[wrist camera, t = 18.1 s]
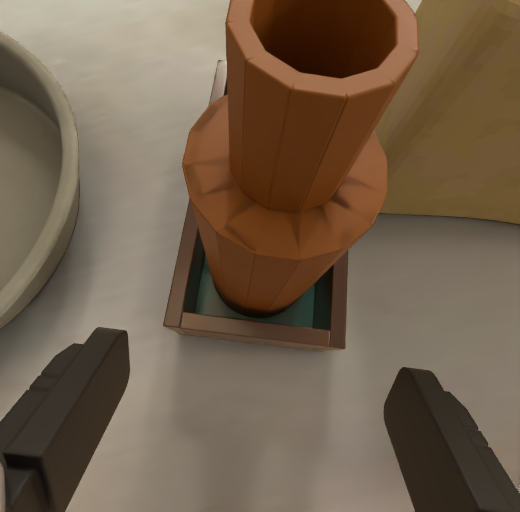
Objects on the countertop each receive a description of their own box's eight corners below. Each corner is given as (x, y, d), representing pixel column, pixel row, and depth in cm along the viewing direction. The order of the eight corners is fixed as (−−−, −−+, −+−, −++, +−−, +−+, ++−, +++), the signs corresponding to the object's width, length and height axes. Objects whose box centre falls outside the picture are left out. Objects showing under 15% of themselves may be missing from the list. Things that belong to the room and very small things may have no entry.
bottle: (307, 236, 22) (478, -63, 6) (300, 323, 20) (518, 197, 4) (220, 224, 21) (183, -113, 6) (205, 311, 19) (100, 138, 4)
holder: (333, 128, 25) (353, 80, 21) (321, 351, 20) (345, 349, 16) (221, 111, 25) (218, 59, 21) (178, 334, 20) (162, 326, 15)
